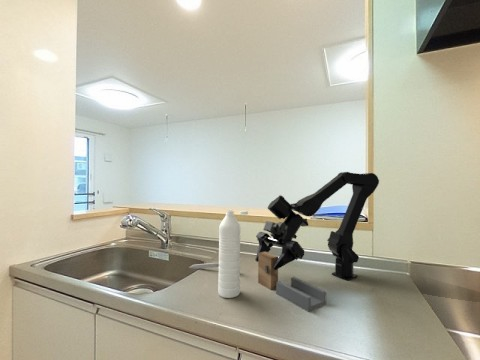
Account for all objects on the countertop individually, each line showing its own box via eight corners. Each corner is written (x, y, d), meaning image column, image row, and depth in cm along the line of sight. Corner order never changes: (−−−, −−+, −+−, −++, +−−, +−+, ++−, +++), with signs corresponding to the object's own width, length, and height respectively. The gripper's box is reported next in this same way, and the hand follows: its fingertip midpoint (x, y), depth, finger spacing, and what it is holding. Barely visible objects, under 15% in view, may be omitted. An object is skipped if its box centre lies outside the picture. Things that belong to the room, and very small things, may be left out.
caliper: (239, 274, 87) (239, 257, 87) (238, 275, 86) (238, 257, 86) (190, 267, 93) (190, 251, 93) (188, 268, 92) (189, 252, 92)
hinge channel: (293, 287, 75) (293, 276, 75) (325, 303, 65) (325, 291, 65) (276, 293, 71) (276, 281, 71) (307, 311, 61) (308, 298, 61)
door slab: (265, 280, 80) (265, 251, 81) (277, 287, 75) (278, 256, 75) (256, 283, 78) (257, 253, 79) (269, 290, 73) (269, 258, 73)
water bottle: (215, 297, 68) (216, 211, 69) (221, 287, 74) (222, 209, 75) (245, 300, 67) (246, 212, 67) (248, 290, 73) (249, 210, 73)
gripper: (260, 209, 87) (235, 243, 81) (298, 215, 72) (270, 257, 66) (275, 229, 92) (253, 262, 85) (315, 238, 76) (290, 280, 70)
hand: (264, 264), depth 76 cm, fingers open, 9 cm apart
